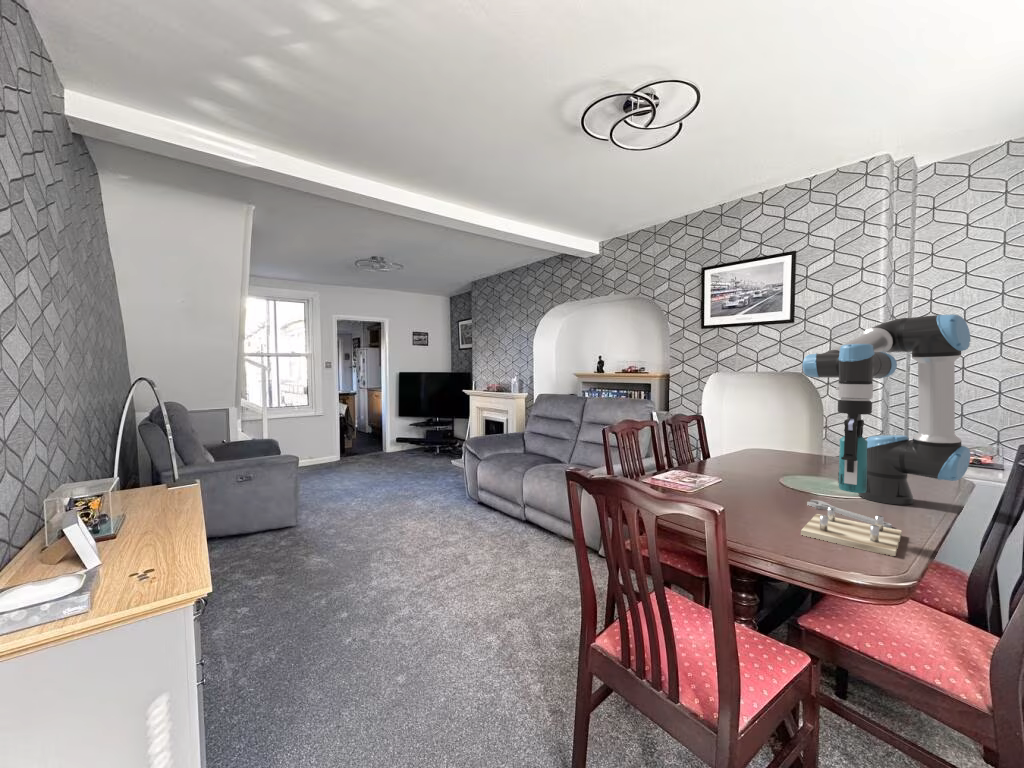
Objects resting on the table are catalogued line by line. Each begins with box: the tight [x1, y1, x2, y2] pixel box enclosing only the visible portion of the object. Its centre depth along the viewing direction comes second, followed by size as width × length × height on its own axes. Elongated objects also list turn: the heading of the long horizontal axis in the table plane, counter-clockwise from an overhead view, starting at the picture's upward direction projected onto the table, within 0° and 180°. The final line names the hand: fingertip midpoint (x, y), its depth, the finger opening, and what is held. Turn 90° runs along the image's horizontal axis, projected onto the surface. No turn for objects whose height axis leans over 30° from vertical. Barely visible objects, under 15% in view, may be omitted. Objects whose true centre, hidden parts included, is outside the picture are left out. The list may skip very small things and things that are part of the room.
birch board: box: [800, 513, 903, 557], centre depth 122 cm, size 20×20×2 cm
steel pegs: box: [820, 506, 885, 543], centre depth 122 cm, size 13×13×4 cm
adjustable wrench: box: [806, 499, 893, 529], centre depth 140 cm, size 25×6×2 cm, turn 14°
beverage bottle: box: [837, 428, 868, 494], centre depth 121 cm, size 6×7×20 cm
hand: (852, 481), depth 122 cm, fingers closed on beverage bottle, 6 cm apart
